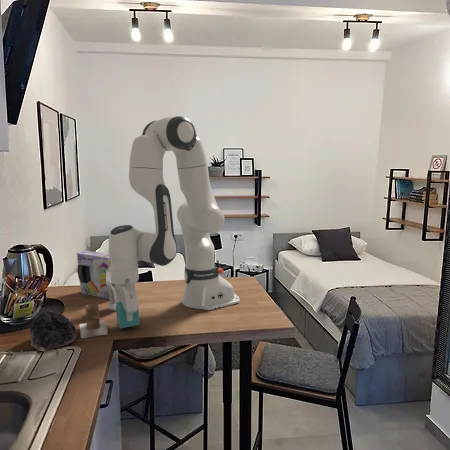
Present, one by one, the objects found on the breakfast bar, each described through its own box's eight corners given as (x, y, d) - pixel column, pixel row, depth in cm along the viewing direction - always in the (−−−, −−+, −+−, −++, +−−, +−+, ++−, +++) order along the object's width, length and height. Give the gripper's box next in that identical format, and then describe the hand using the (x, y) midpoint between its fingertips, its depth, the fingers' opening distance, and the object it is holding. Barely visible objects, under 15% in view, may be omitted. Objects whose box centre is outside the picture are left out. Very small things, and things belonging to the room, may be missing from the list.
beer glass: (121, 312, 149) (119, 272, 146) (103, 310, 150) (101, 271, 148) (129, 305, 156) (128, 267, 153) (112, 304, 157) (110, 266, 154)
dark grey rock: (74, 351, 121) (75, 318, 120) (24, 353, 117) (25, 319, 116) (77, 335, 134) (78, 306, 133) (32, 337, 130) (33, 306, 129)
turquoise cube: (135, 317, 139) (134, 299, 138) (139, 324, 134) (138, 305, 133) (116, 321, 137) (115, 302, 136) (120, 328, 131) (118, 308, 130)
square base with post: (104, 324, 138) (103, 300, 137) (107, 334, 131) (106, 308, 129) (79, 328, 135) (78, 303, 134) (81, 338, 128) (79, 312, 126)
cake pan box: (77, 292, 170) (75, 251, 167) (87, 289, 175) (85, 249, 172) (110, 301, 160) (108, 257, 157) (119, 297, 165) (117, 254, 162)
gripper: (141, 283, 124) (143, 326, 127) (128, 266, 143) (130, 304, 145) (120, 286, 122) (123, 330, 124) (110, 269, 140) (112, 307, 143)
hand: (127, 315), depth 135 cm, fingers closed on turquoise cube, 6 cm apart
